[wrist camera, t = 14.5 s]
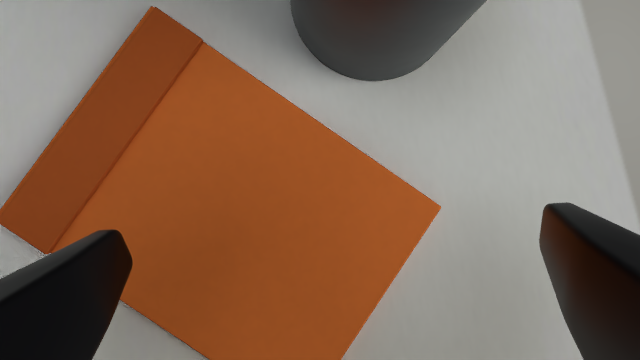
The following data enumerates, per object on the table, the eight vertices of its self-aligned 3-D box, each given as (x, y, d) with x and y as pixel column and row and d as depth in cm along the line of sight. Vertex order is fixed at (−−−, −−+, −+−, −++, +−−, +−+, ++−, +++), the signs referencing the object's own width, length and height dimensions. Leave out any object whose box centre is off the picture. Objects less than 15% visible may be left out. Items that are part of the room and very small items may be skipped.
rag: (300, 415, 16) (300, 425, 16) (2, 215, 16) (-12, 216, 15) (438, 206, 17) (444, 207, 16) (154, 9, 16) (148, 1, 16)
